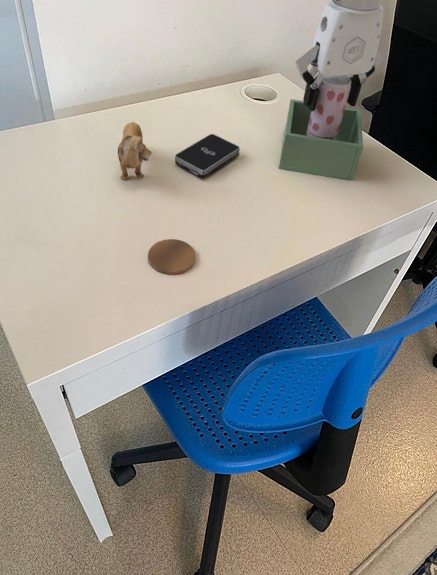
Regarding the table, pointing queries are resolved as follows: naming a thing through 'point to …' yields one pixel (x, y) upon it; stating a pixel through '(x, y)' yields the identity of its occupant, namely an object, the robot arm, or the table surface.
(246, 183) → the table surface
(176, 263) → the coaster
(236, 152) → the external hard drive
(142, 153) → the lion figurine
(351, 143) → the crate
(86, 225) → the table surface
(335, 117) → the beverage can
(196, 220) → the table surface
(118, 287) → the table surface
